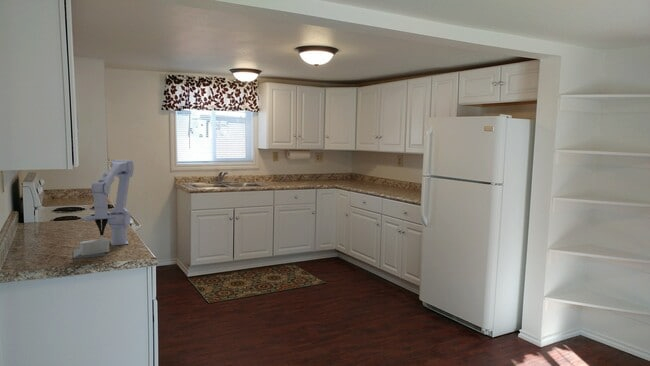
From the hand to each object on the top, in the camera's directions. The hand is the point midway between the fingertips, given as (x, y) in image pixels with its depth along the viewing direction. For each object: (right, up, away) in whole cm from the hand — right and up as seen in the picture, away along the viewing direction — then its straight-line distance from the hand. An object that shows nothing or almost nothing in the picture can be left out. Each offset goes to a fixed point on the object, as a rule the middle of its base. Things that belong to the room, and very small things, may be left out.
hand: (101, 234), depth 223 cm
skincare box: (+3, -5, +1) cm, 6 cm away
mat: (-5, -9, -2) cm, 10 cm away
